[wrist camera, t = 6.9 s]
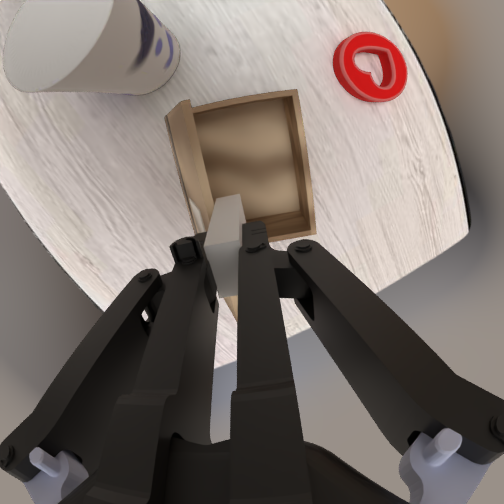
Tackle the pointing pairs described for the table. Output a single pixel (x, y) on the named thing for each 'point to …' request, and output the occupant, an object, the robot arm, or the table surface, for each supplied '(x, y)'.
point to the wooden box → (260, 159)
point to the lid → (192, 173)
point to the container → (89, 47)
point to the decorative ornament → (362, 81)
